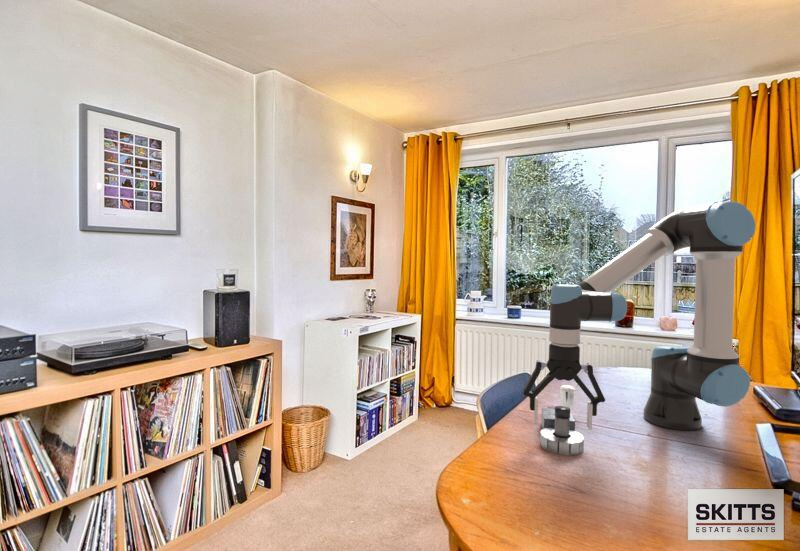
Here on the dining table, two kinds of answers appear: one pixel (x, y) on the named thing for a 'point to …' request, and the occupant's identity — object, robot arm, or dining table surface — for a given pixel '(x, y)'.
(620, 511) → the dining table surface
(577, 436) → the grey block with disc
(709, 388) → the robot arm
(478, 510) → the dining table surface
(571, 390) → the milkshake
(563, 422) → the black capped grinder
